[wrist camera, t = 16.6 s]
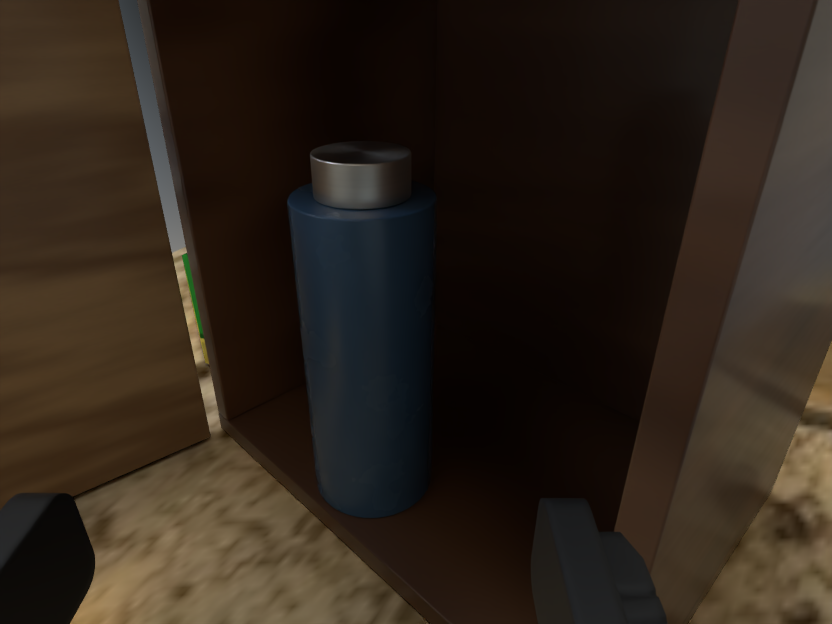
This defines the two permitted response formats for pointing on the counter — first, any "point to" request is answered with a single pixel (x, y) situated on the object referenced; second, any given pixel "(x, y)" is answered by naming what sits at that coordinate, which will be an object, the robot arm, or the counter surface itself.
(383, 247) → the water bottle
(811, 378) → the cupboard
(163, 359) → the cupboard door
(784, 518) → the counter surface
